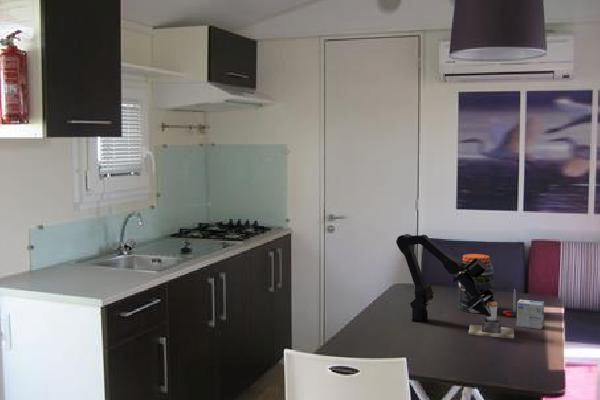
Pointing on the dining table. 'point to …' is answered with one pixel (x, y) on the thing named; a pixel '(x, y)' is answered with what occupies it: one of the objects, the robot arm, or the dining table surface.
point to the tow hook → (513, 312)
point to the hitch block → (491, 329)
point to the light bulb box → (530, 314)
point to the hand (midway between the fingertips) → (493, 314)
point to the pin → (492, 311)
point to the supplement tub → (482, 279)
